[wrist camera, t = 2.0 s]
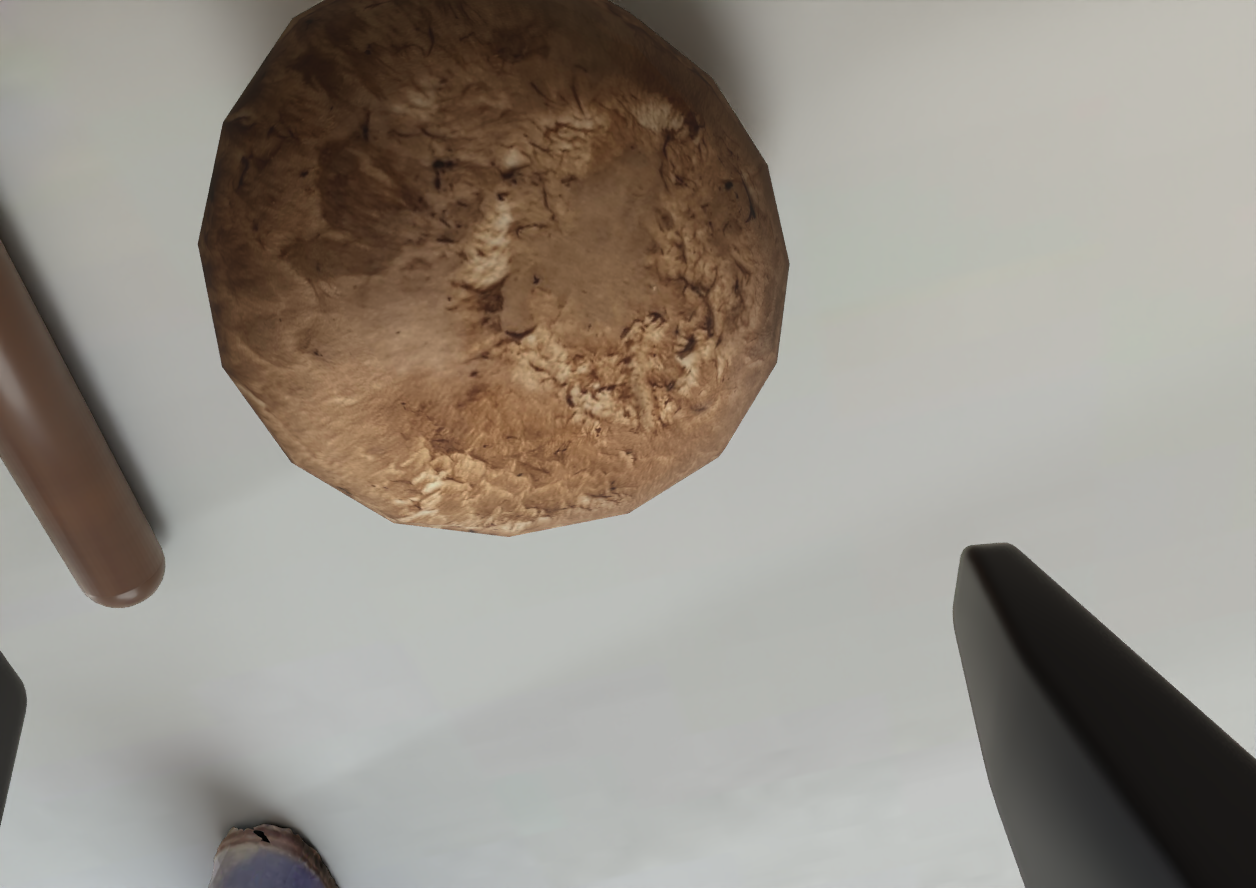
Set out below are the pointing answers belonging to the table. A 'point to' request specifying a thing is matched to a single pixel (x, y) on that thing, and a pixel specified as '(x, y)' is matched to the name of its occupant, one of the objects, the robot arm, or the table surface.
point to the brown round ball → (491, 259)
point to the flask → (268, 861)
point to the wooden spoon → (68, 461)
